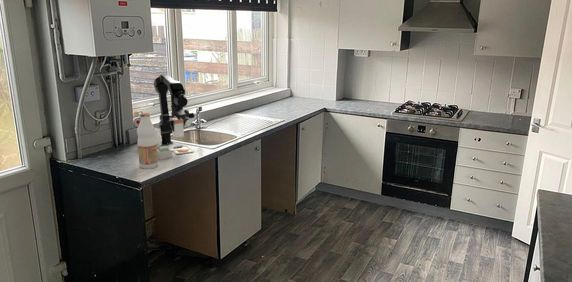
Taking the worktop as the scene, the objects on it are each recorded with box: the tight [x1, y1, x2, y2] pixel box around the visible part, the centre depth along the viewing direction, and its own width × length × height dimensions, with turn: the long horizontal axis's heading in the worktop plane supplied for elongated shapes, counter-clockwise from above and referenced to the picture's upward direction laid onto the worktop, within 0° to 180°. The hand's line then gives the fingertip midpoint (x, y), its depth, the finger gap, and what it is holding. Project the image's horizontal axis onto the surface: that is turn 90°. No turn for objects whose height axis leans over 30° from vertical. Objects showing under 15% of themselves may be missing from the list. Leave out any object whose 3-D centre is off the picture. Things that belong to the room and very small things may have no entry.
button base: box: [157, 148, 173, 160], centre depth 240 cm, size 7×7×4 cm
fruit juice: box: [136, 112, 159, 170], centre depth 221 cm, size 9×9×28 cm
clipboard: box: [169, 145, 195, 156], centre depth 252 cm, size 12×10×2 cm
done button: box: [157, 145, 170, 152], centre depth 240 cm, size 4×4×2 cm
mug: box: [155, 127, 162, 148], centre depth 259 cm, size 12×8×10 cm
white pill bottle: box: [171, 118, 185, 139], centre depth 246 cm, size 5×5×10 cm
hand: (177, 131), depth 246 cm, fingers closed on white pill bottle, 5 cm apart
